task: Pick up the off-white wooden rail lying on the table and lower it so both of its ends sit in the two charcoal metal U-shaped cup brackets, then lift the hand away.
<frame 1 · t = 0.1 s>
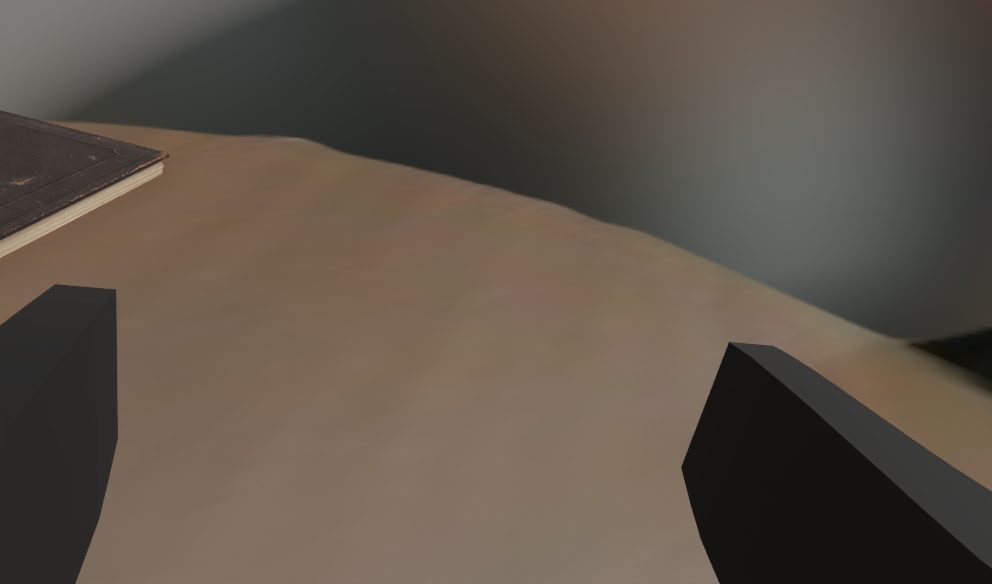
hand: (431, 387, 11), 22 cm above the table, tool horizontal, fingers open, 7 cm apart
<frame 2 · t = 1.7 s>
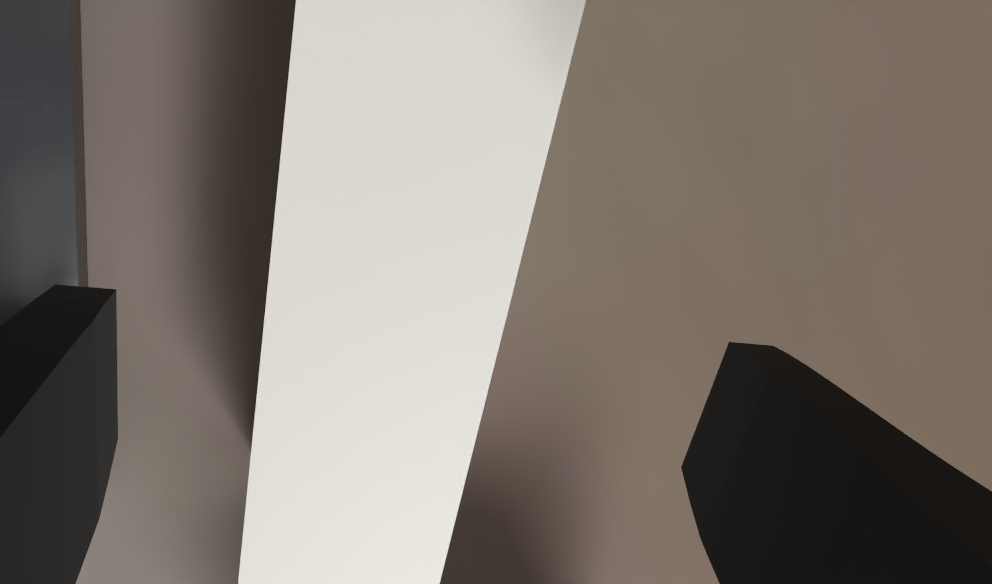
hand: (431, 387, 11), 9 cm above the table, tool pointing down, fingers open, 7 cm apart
rail: (389, 114, 19), on the table
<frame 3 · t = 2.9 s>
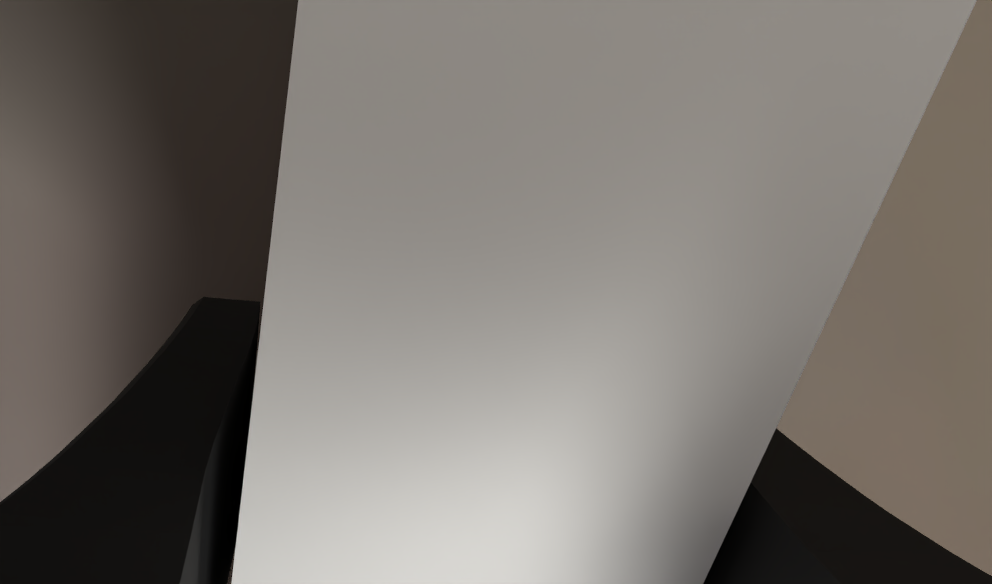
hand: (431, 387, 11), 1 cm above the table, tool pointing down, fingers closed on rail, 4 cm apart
rail: (420, 319, 12), on the table, touching gripper
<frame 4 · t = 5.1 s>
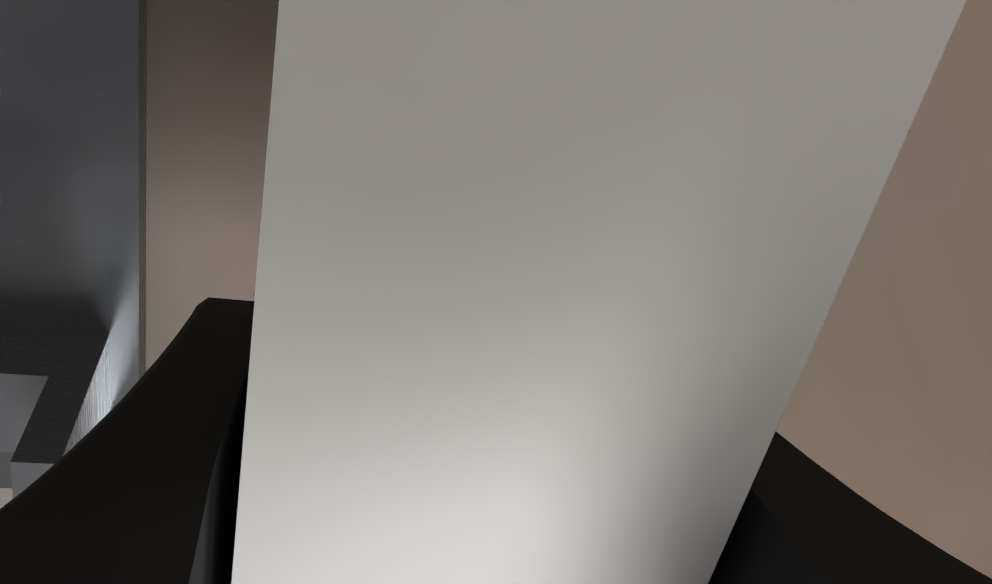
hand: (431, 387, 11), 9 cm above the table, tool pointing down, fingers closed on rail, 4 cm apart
rail: (422, 321, 12), point 8 cm above the table, touching gripper
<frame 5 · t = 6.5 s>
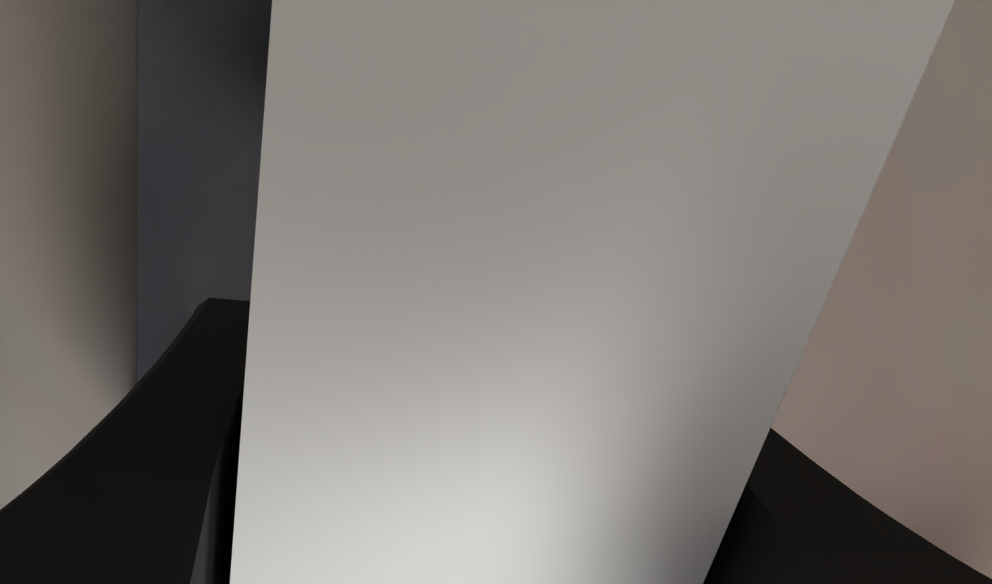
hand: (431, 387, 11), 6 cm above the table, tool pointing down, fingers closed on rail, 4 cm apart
rail: (420, 321, 12), point 5 cm above the table, touching gripper
cup brackets: (399, 177, 16), on the table
when the fingers open (6 cm above the table, at t = 7.4 s): rail drops 2 cm, resting on cup brackets.
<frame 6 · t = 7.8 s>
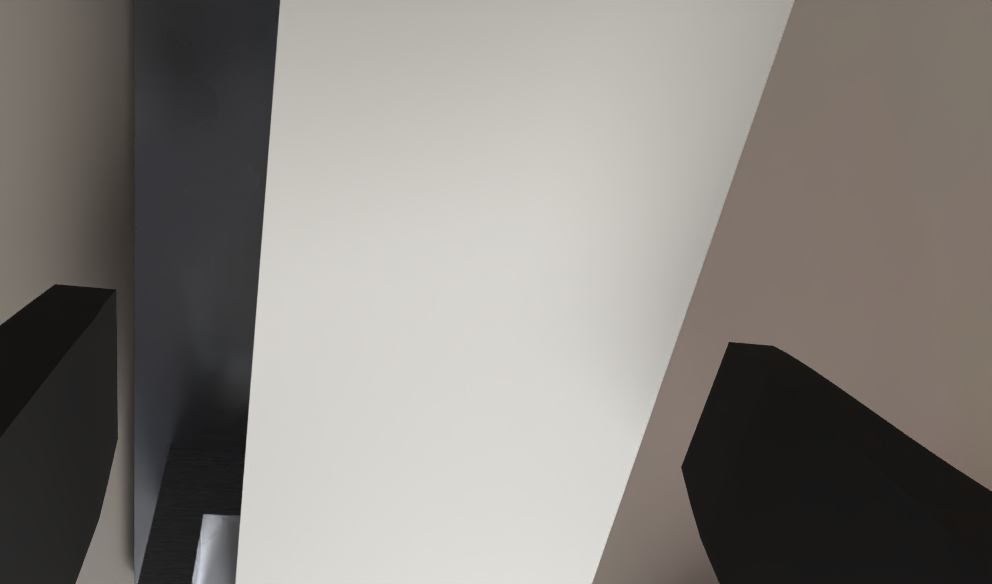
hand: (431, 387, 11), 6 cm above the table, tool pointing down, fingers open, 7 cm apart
rail: (409, 253, 14), point 2 cm above the table, touching cup brackets
cup brackets: (401, 184, 16), on the table
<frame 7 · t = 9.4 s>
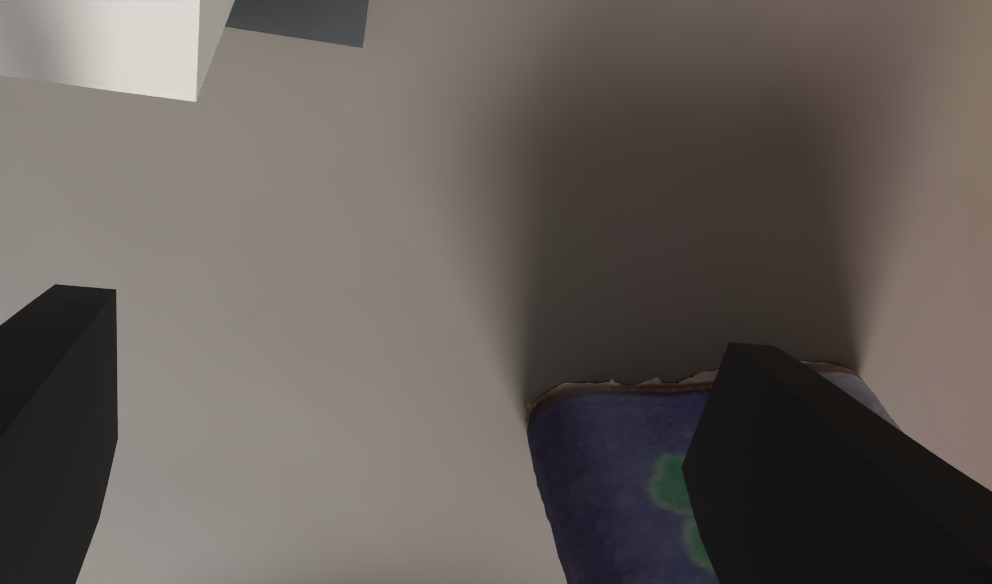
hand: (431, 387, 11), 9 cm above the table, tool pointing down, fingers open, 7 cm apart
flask: (689, 405, 24), on the table
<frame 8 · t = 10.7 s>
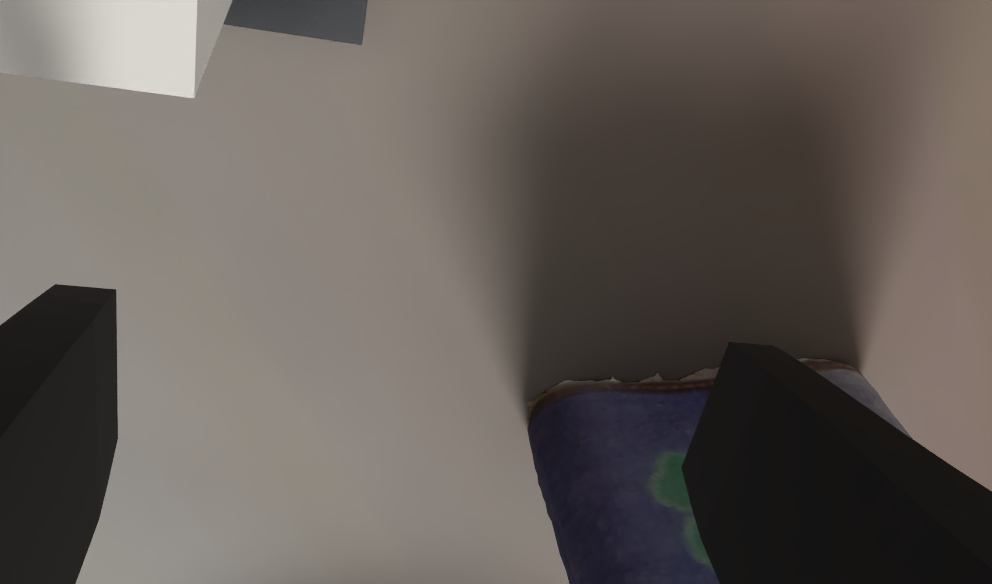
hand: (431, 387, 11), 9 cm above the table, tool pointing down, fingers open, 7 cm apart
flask: (690, 402, 24), on the table
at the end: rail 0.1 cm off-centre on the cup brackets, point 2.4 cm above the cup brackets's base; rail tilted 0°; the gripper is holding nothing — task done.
